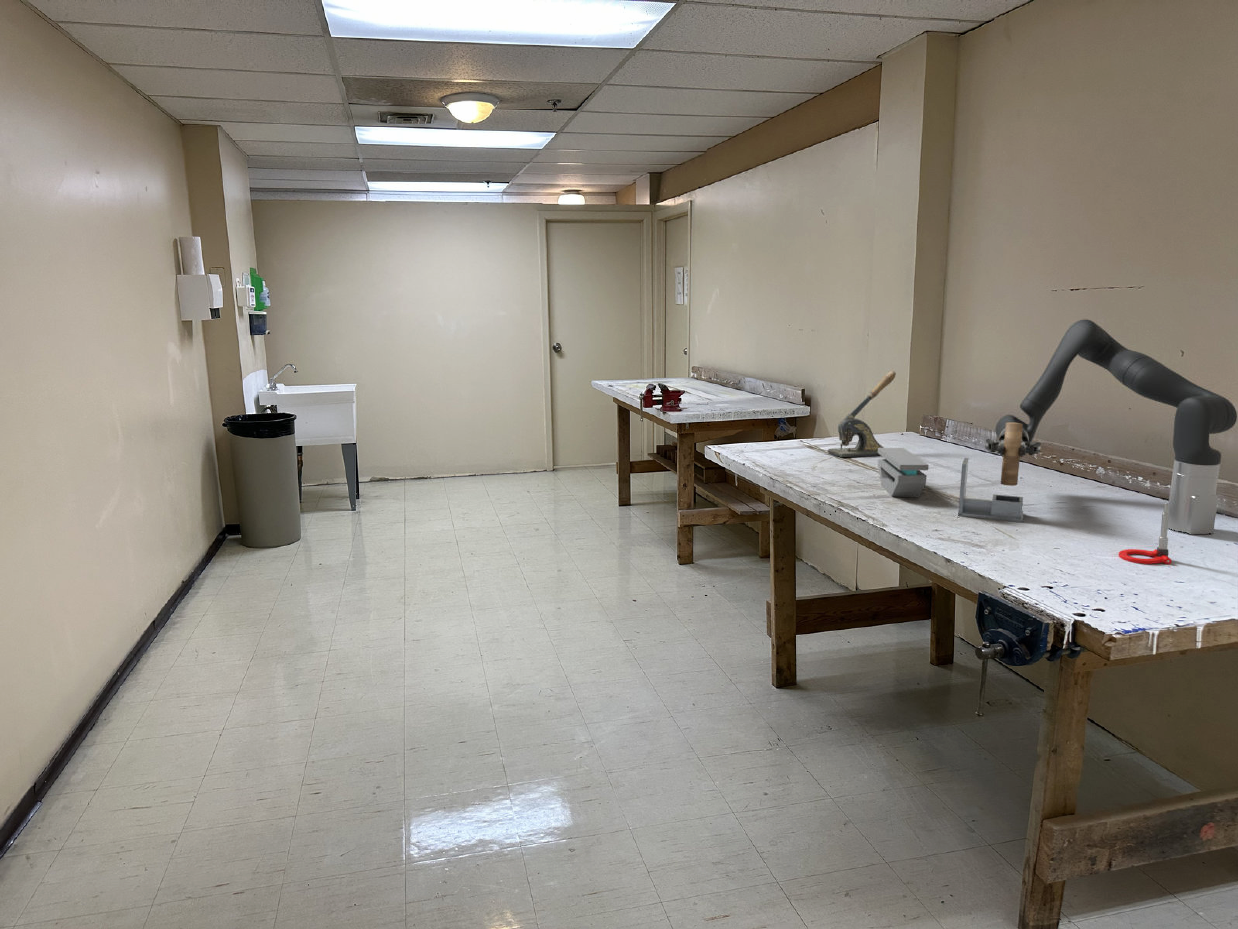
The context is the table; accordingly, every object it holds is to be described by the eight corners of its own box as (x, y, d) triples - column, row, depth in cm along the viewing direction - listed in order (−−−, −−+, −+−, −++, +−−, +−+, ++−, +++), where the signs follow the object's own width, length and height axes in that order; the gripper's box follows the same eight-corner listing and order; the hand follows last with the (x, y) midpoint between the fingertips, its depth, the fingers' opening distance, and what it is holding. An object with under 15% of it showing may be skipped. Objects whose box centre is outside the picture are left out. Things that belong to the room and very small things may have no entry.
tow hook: (1126, 565, 181) (1173, 566, 179) (1130, 508, 179) (1178, 508, 176) (1112, 553, 189) (1158, 554, 187) (1116, 499, 187) (1162, 499, 184)
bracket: (960, 507, 227) (964, 457, 224) (1023, 513, 221) (1027, 462, 218) (958, 515, 219) (962, 464, 216) (1022, 522, 213) (1027, 469, 210)
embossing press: (825, 453, 304) (829, 371, 297) (884, 449, 309) (888, 369, 302) (839, 458, 293) (843, 374, 287) (900, 455, 298) (905, 372, 292)
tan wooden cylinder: (1020, 485, 215) (1026, 424, 211) (1005, 485, 215) (1010, 425, 211) (1012, 481, 219) (1017, 422, 215) (997, 482, 219) (1002, 422, 215)
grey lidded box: (925, 502, 233) (928, 464, 231) (897, 502, 234) (900, 464, 231) (901, 482, 258) (903, 447, 255) (876, 482, 258) (878, 447, 256)
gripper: (986, 425, 230) (982, 436, 215) (1043, 429, 223) (1044, 439, 208) (984, 452, 231) (980, 464, 216) (1041, 456, 225) (1041, 468, 210)
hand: (1011, 452), depth 212 cm, fingers closed on tan wooden cylinder, 4 cm apart
